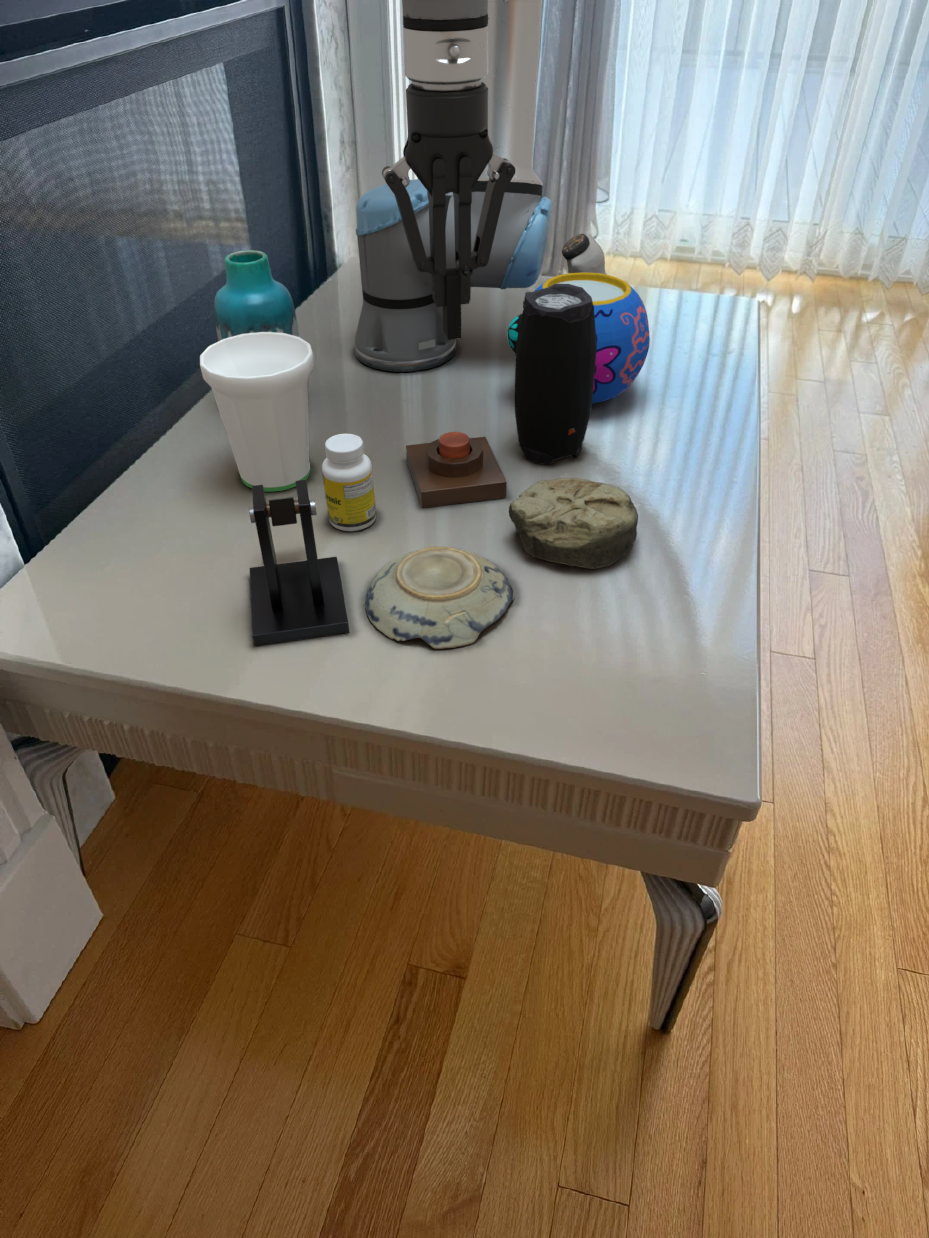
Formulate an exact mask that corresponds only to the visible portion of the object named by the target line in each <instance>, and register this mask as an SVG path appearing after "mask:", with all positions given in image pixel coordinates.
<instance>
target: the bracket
mask: <svg viewBox="0 0 929 1238" xmlns="http://www.w3.org/2000/svg"><path fill="white" fill-rule="evenodd" d="M295 488H296V496H297V500H298V505H299V512H300V514H299V518H300V524H301V531H302V537H303V544H304V550H305V556H306V560H298V561H292V562H284V563H278V562H277V561H278V560H277V557H276V556H277V555H276V551H275V550H276V549H275V545H274V539H273V534H272V527H271V522H270V517H269V516H268V511H267V505H266V504H267V501H266V500H267V499H266V495H265V491H264V489H263V485H255V486H252V488H251V494H252V495H251V496H252V507H249V508H248V513H249V519H250V523H251V524H255V528H256V532H257V538H258V543H259V548H260V549H259V550H260V554H261V558H262V564H263V565H260V566H251V567H249V584H250V585H249V588H250V589H249V590H250V611H251V631H252V633H251V634H252V635H251V636H252V640H253V646H255V647H258V646H265V645H273V644H278V643H285V642H293V641H300V640H307V639H313V638H320V637H327V636H328V637H329V636H335V635H342V634H349V633H350V625H349V619H348V613H347V607H346V602H345V597H344V589H343V584H342V578H341V573H340V572H341V571H340V567H339V561H338V557H337V556H329V557H321V558H318V552H317V545H316V544H317V543H316V538H315V530H314V523H313V517H312V516H317V505H316V500H315V499H310V496H309V489H308V481H307V480H299V481H296V487H295Z"/></svg>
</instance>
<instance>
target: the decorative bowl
mask: <svg viewBox="0 0 929 1238" xmlns="http://www.w3.org/2000/svg"><path fill="white" fill-rule="evenodd" d="M514 593H515V592H514V589H513V586H512V583H511V582H510V580H509V578H508V577H506V575H505V573H504V572H502V571H501V570H500V569H499V568H498V567H497V566H496V565H495V564H494V563H492V562H491V561H489V560H488V559H487V558H486V557H484V556H481V555H480V554H478V553H476V552H473V551H471V550H467V549H462V548H458V547H453V546H452V547H451V546H429V547H424V548H420V549H417V550H414V551H409V552H407V553H403V554H402V555H400V556H398V557H396V558H394V559H393V560H391V561H390V562H388V563H387V564H386V565H385V566H383V568H381V570H380V571H378V573H377V574H376V576H375V577H374V579H373V581H372V583H371V584H370V585H369V587H368V589H367V592H366V595H365V601H364V607H365V611H366V612H365V613H366V614H367V617H368V619H369V622H370V623H371V624H372V625H373V626H374V627H375V629H377V630H378V631H379V632H382V633H383V635H384V636H386V637H388V638H389V639H390V640H395V641H397V642H400V641H402V642H405V641H408V640H413V639H421V640H422V641H424V642H425V643H426V644H427V645H428V646H430V647H431V648H432V649H435V650H443V649H454V648H458V647H464V646H469V645H472V644H474V643H475V642H477V639H478V638H479V636H480V635H481V633H482V632H484V630H486V629H487V628H488V627H490V626H491V625H493V624H495V622H497V621H498V620H499V619H500V618H501V617H502V616H504V614H505V613H506V612H507V609H508V608H509V606H510V604H511V603H512V602H513V601H514V600H515V594H514Z"/></svg>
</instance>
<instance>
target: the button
mask: <svg viewBox="0 0 929 1238" xmlns="http://www.w3.org/2000/svg"><path fill="white" fill-rule="evenodd" d="M470 438H471V437H470V436H469V435H468V434H466V433H464V432H461V431H460V432H459V431H449V432H445V433H443V434H441V435H440V436H439V438H438V439H439V454H440V455H441V456H443V457H445V458H451V459H456V458H463V457H465V456H467V455H469V453H470Z"/></svg>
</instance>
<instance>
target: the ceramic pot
mask: <svg viewBox="0 0 929 1238" xmlns="http://www.w3.org/2000/svg"><path fill="white" fill-rule="evenodd" d="M606 274H607V273H606ZM606 274H600V273H586V272H581V273H568V272H567V273H562V274H559V275H555V276H553V277H550V278H548V279H547V280H546V279H545V281H544V282H542V283H541V284H540V285H539V286H538V287H536V289H535V290H534V291H537V290H540V289H544V288H547V287H550V286H552V285H554V284H571V285H575V286H578V287H582V288H583V289H584V290H585V291H586V292H587V293H588V294H589V295H590V296H591V297H592V301H593V305H594V315H595V329H596V342H597V351H596V362H595V374H594V385H593V396H592V405H593V404H598V403H603V402H605V401H608V400H611V399H613V398H617V397H619V396H620V395H621V394H623V393H624V392H625V391H627V390H628V388H629V387H631V385H632V384H633V383H634V381H635V380H636V378H637V377H638V376H639V373H640V372H641V370H642V369H643V367H644V364H645V362H646V359H647V356H648V353H649V350H650V342H651V341H650V340H651V338H650V325H649V319H648V318H649V317H648V313H647V309H646V307H645V304H644V301H643V299H642V298H641V296H640V295H639V293H638V292H637V291H636V289H634V288H633V286H632V285H630V284H629V283H628V282H627V281H625V280H623V279H621V278H620V277H617V276H614V275H609V274H607V275H606ZM522 313H523V310H522V312H521V313H520V314H518V315H517V316H515V317H513V319H511V321H510V323H509V324H508V327H507V334H506V337H507V338H506V339H507V343H508V346H509V348H510V349H511V351H512V352H513V353H514V354H515V355H516V341H517V336H518V332H519V327H520V322H521V318H522Z"/></svg>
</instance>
